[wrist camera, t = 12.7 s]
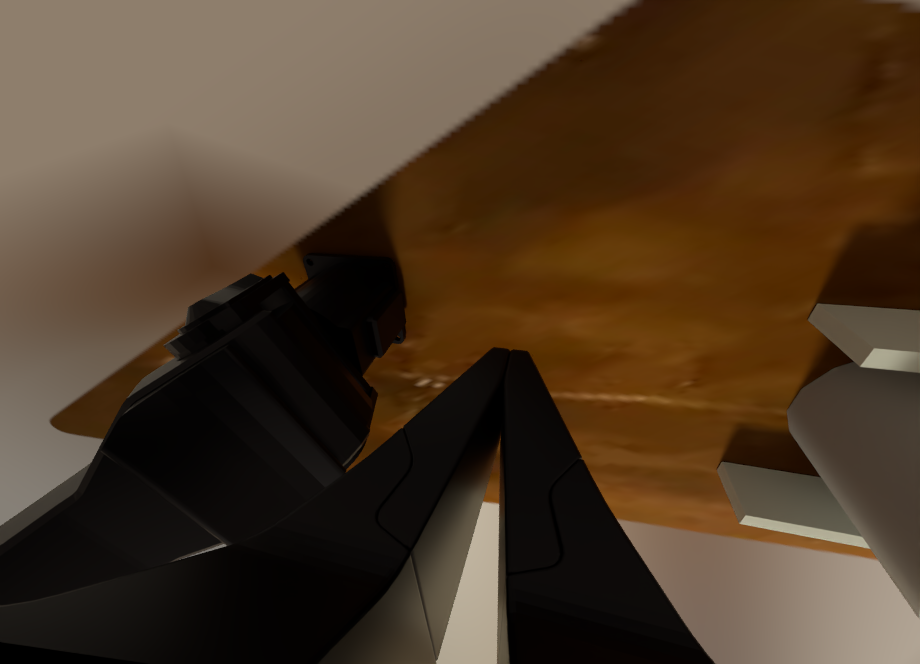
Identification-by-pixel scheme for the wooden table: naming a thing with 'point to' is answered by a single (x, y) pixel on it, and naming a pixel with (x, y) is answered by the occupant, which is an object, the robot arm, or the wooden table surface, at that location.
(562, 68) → the wooden table surface
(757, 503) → the u-shaped wall frame
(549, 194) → the wooden table surface
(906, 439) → the cup
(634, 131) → the wooden table surface
